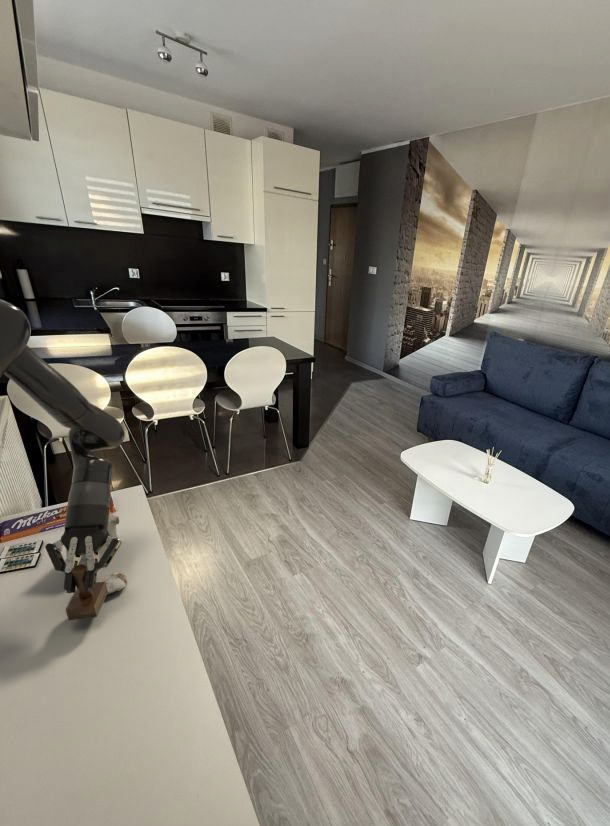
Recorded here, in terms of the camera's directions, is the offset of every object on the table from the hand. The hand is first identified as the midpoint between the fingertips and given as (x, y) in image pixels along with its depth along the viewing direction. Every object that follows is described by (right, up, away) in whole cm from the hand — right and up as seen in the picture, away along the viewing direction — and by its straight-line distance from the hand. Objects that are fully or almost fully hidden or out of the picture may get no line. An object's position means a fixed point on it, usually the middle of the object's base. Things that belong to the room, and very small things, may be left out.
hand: (79, 591), depth 79 cm
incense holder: (-11, +1, +22) cm, 25 cm away
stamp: (-1, -4, +4) cm, 6 cm away
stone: (-3, -4, +12) cm, 14 cm away
